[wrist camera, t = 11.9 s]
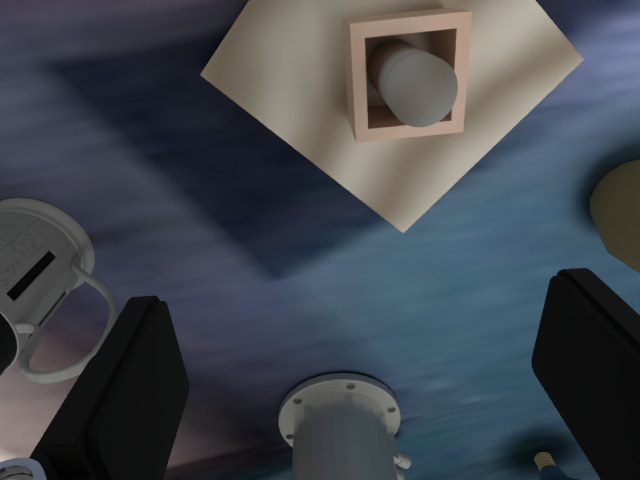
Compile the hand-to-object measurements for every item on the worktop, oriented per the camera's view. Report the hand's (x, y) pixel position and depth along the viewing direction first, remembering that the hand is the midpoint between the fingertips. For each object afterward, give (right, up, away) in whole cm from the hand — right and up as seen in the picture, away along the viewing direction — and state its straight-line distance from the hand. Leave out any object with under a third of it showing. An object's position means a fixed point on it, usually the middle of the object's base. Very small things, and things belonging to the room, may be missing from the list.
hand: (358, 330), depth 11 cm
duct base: (+4, +14, +18) cm, 23 cm away
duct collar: (+4, +13, +16) cm, 21 cm away
